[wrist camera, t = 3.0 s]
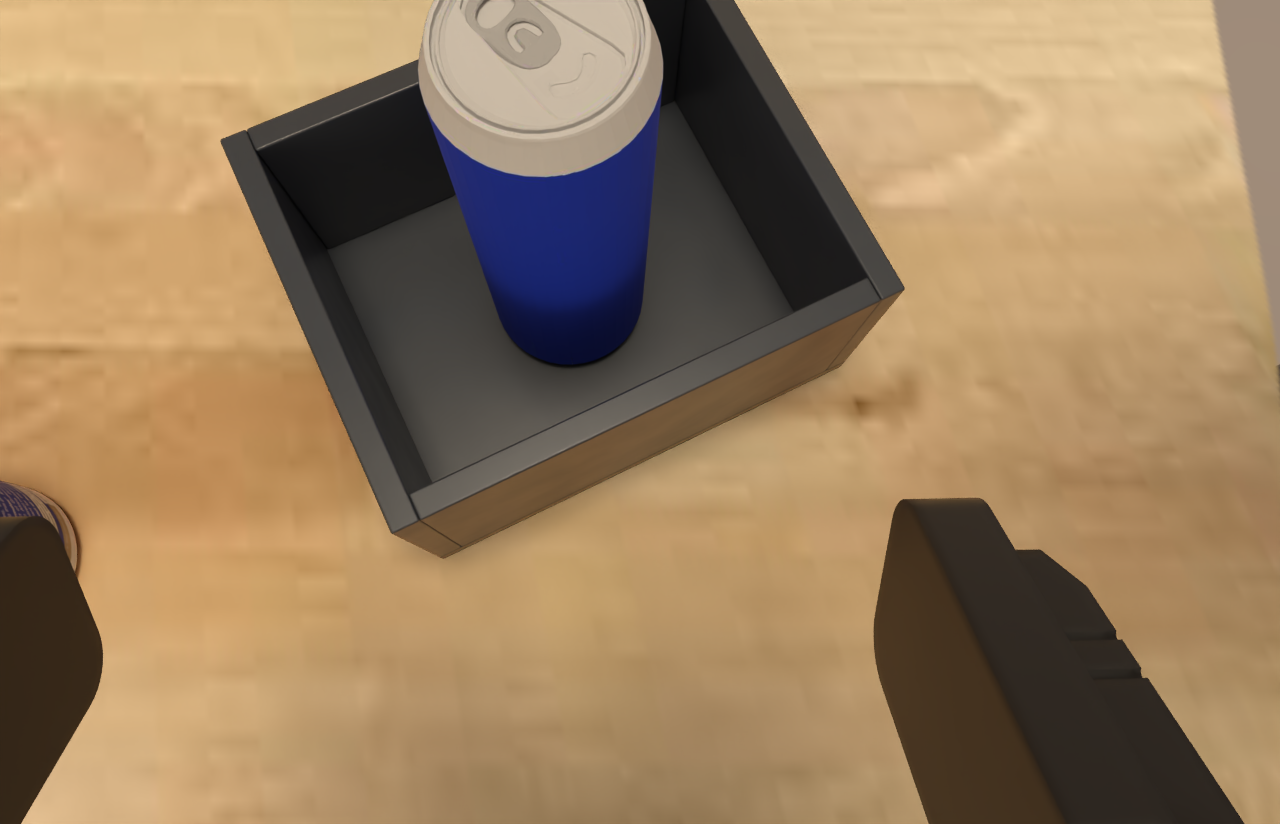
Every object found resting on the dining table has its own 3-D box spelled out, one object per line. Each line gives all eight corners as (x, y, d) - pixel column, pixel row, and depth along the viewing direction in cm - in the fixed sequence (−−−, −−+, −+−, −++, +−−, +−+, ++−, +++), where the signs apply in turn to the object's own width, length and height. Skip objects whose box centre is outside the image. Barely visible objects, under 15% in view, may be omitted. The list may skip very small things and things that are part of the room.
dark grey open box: (683, 85, 36) (701, -57, 29) (841, 365, 34) (906, 288, 26) (303, 247, 34) (218, 139, 27) (442, 559, 32) (391, 534, 24)
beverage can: (672, 295, 33) (718, 30, 19) (574, 399, 32) (543, 203, 18) (566, 206, 34) (531, -116, 20) (467, 304, 33) (353, 42, 19)
